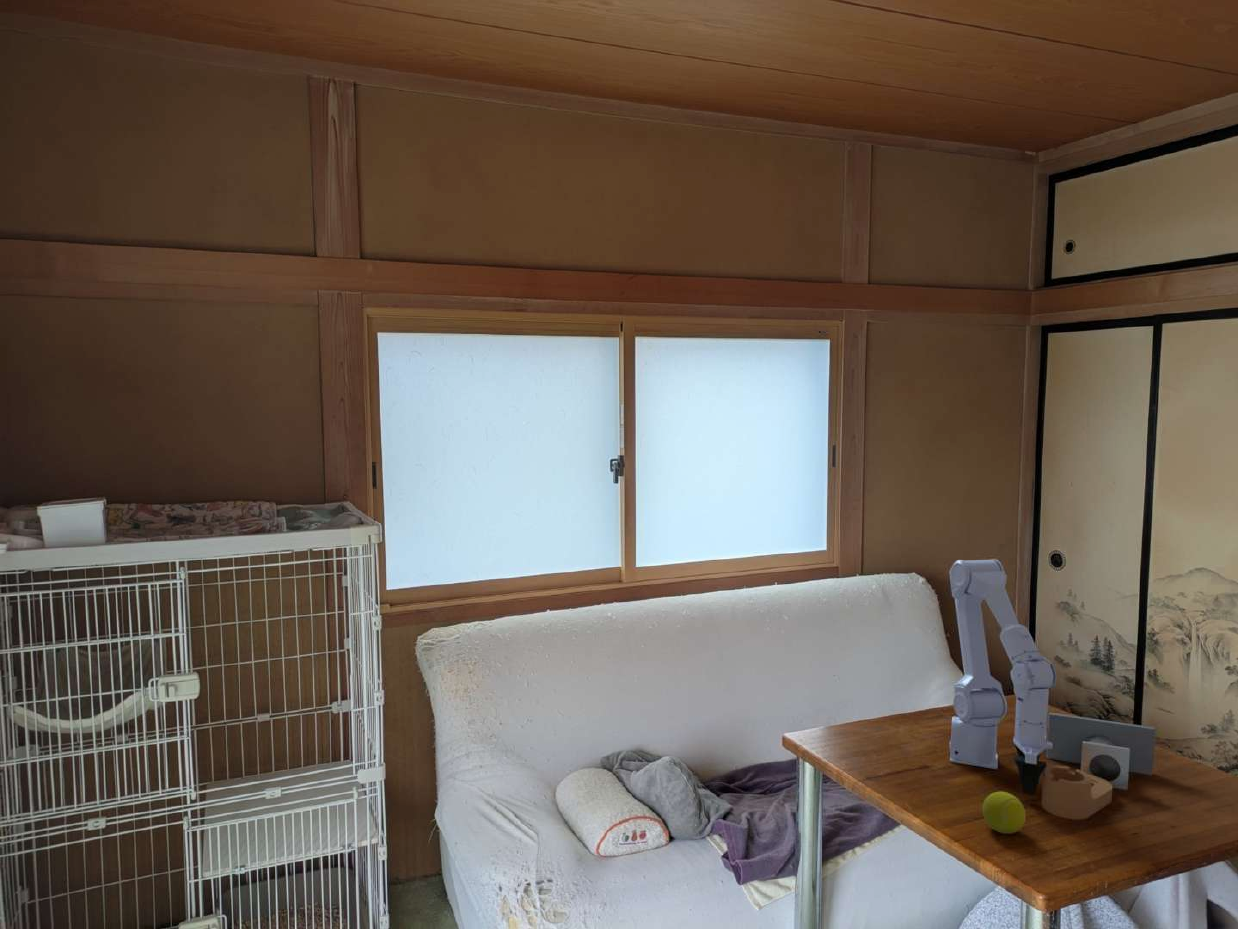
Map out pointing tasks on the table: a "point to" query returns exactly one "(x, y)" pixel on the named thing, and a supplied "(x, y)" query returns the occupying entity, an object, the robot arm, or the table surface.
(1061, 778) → the bracket
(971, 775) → the table surface
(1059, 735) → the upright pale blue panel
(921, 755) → the table surface
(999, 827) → the tennis ball
